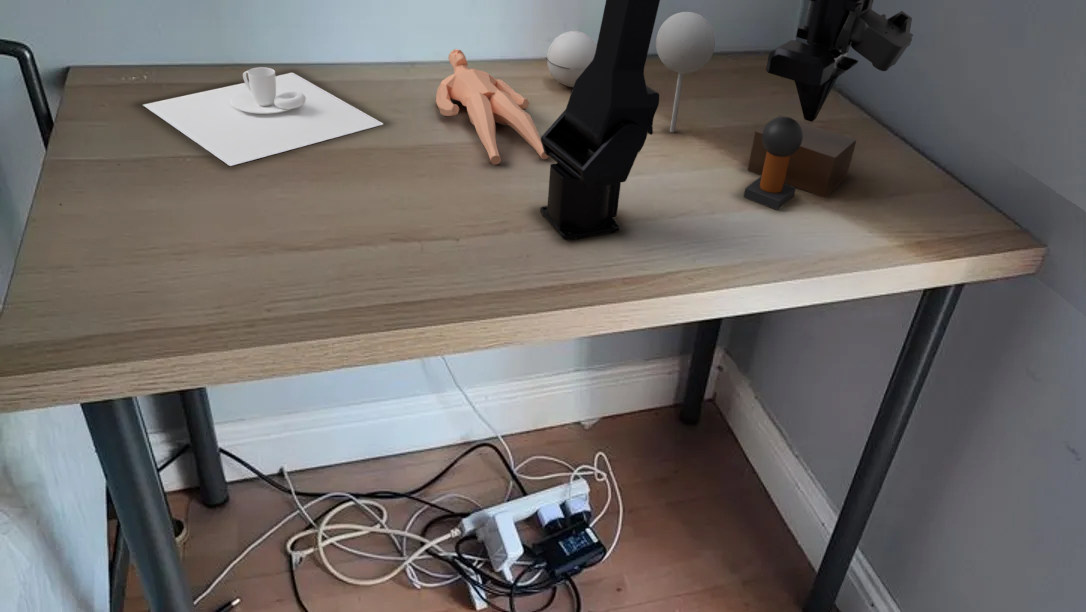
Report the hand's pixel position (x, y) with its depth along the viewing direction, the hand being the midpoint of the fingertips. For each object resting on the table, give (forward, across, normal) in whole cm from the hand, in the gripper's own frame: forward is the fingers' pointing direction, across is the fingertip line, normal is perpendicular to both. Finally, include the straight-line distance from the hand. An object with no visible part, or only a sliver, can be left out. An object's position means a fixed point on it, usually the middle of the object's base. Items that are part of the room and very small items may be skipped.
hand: (809, 120), depth 110 cm
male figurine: (+7, -14, +36) cm, 40 cm away
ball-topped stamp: (+7, -5, 0) cm, 8 cm away
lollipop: (+7, 0, +18) cm, 19 cm away
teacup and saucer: (+7, -32, +56) cm, 64 cm away
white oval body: (+7, +3, +34) cm, 35 cm away
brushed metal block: (+7, 0, 0) cm, 7 cm away
